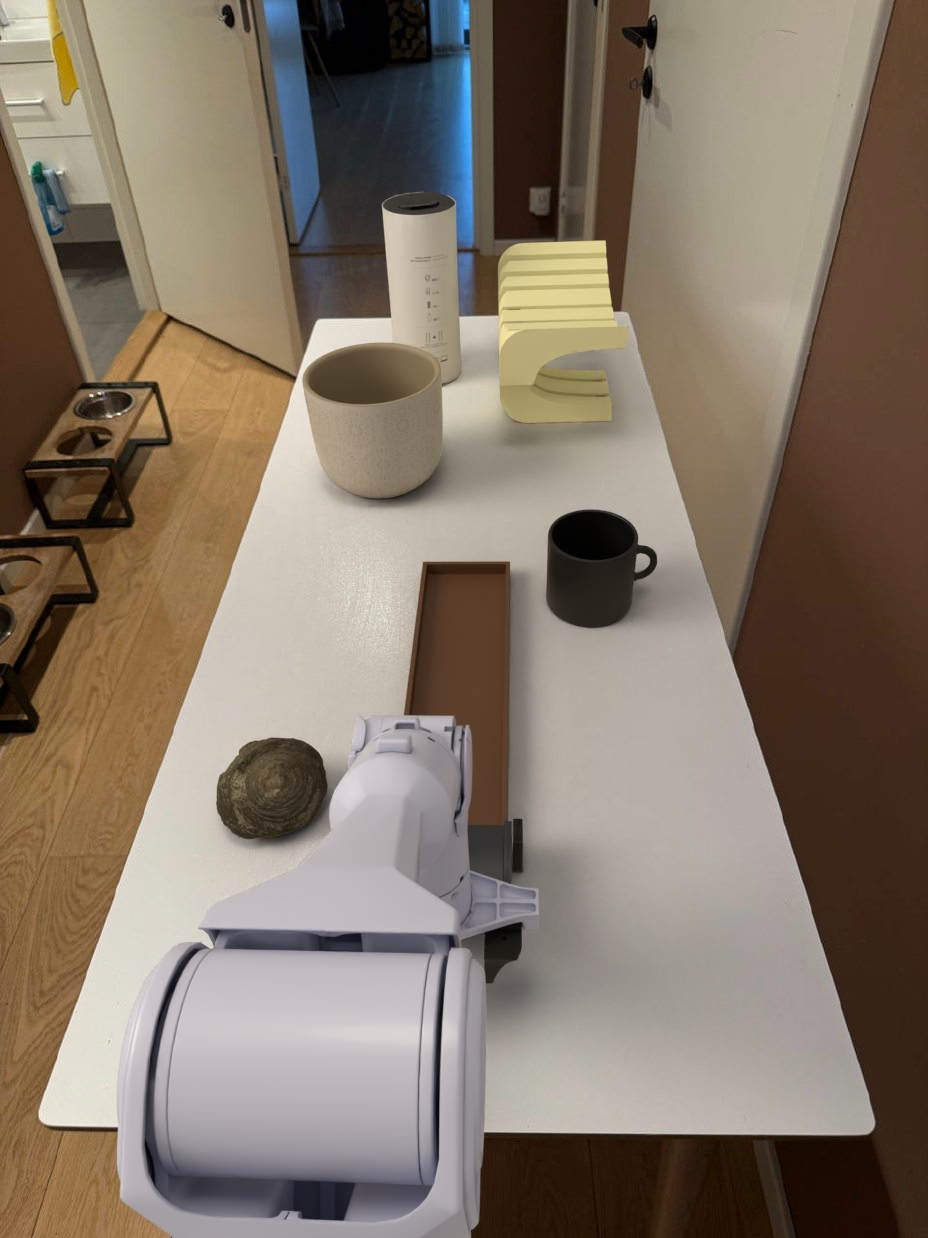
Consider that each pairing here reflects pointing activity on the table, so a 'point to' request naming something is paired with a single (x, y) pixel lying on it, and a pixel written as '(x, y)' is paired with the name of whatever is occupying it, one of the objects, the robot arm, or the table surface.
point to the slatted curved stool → (554, 330)
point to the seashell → (271, 788)
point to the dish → (491, 850)
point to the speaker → (424, 275)
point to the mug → (593, 567)
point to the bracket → (517, 845)
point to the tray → (467, 669)
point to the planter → (376, 417)
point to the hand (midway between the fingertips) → (436, 969)
